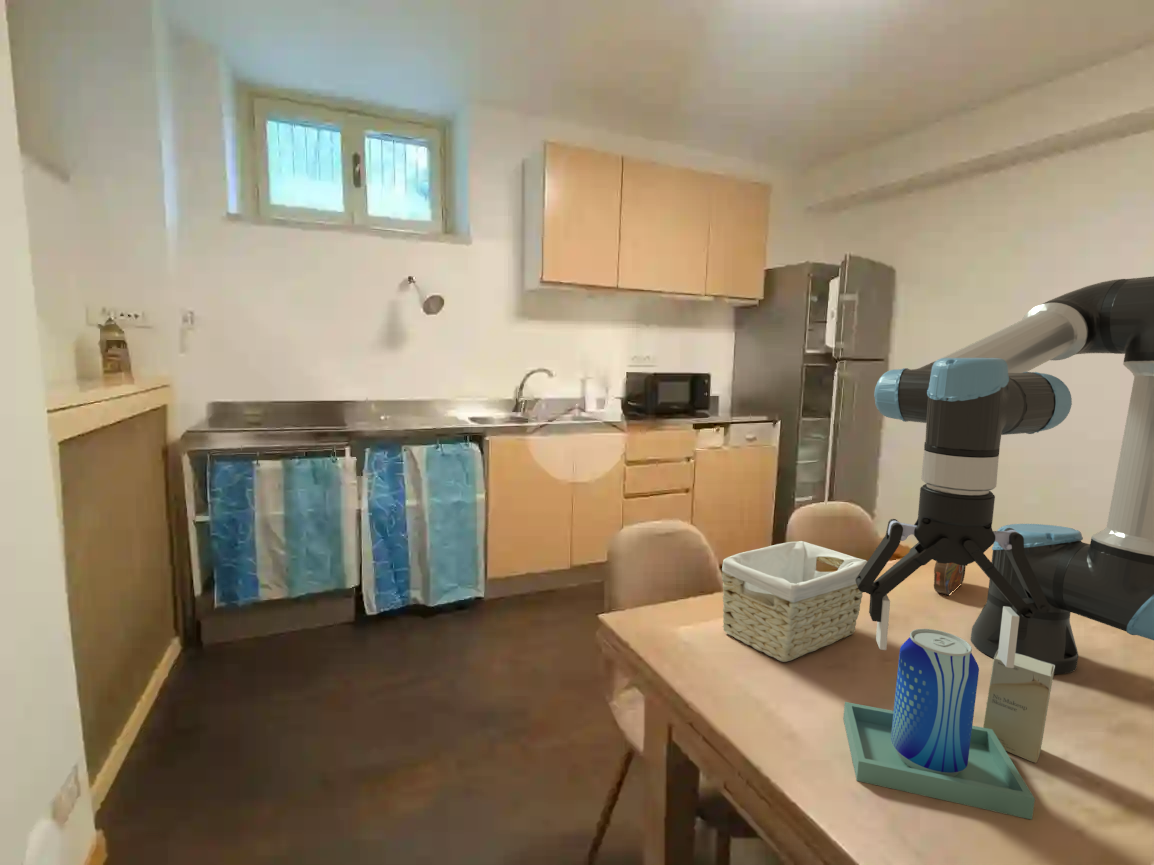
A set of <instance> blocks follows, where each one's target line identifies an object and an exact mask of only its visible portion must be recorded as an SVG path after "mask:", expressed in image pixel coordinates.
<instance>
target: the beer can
mask: <svg viewBox="0 0 1154 865" xmlns="http://www.w3.org/2000/svg"><path fill="white" fill-rule="evenodd" d="M972 652H973V648H972V645H971V644H970V642H967V640H965V639H963V638H961V637H959V636H957V635H955V634H953V633H950V632H946V631H943V630H939V629H932V628H931V629H930V628H917V629H913V630H912V631H910V633H909V637H908V638H906V641H904V643H902V644H901V646H900V647H899V653H898V654H899V655H898V665H897V666H898V667H897V676H896V682H895V683H896V684H895V694H894V704H893V711H894V712H893V721H892V731H891V743H892V745H893V747H894V748H895V750H896V751H897V754H898V756H899V757H900V759H901V760H902V761H903V762H904V763H905V764H907V765H908V766H909V767H911V768H913V769H917V770H922V771H927V772H932V773H936V774H941V775H946V776H950V777H954V776H956V775H957V774H958V773H959V772H961V771H963V770H964V769H965V768H966V767H967V765H968V757H969V749H970V740H971V732H972V726H973V724H974V723H973V722H974V715H975V708H976V707H975V705H976V697H977V690H978V681H979V674H980V667H979V664H978V662H977V660H976V658H975V657H974V654H973V653H972Z"/></svg>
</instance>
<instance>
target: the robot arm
mask: <svg viewBox="0 0 1154 865" xmlns="http://www.w3.org/2000/svg"><path fill="white" fill-rule="evenodd" d="M1082 354H1083V355H1085V354H1117V355H1118V354H1119V355H1120V354H1122V355H1124V357H1123V361H1122V362H1123V363H1122V365H1123V366H1124V367H1125V368H1126V369H1127V370H1128V371H1130V373H1132V375H1133V382H1132V387H1131V394H1130V398H1129V404H1128V407H1127V408H1128V409H1127V415H1126V421H1125V425H1124V431H1123V435H1122V436H1123V437H1122V442H1121V447H1120V452H1119V458H1118V462H1117V469H1116V475H1115V481H1114V483H1113V490H1112V491H1113V492H1112V496H1111V501H1110V506H1109V512H1108V517H1107V522H1106V527H1105V528H1104V529H1102V530H1101V531H1099V532H1096V533H1094V534H1092V535H1091V539H1090V543H1086V542H1082V541H1083V539H1084V537H1083V536H1082V533H1081V531H1079V530H1078V529H1074V528H1071V527H1068V526H1062V525H1054V524H1053V525H1052V524H1051V525H1050V524H1043V523H1042V524H1041V523H1040V524H1038V523H1011V524H1005V525H1003V526H1001V527H999V528H998V529H997V530H993V519H994V508H995V502H996V501H995V500H996V495H995V494H994V493H993V492H992V491H993V490H994V489H995V488H997V484H998V483H997V482H998V469H999V458H1000V447H1001V442H1002V441H1001V440H1002V436H1005V435H1018V434H1019V435H1020V434H1028V435H1032V434H1033V435H1034V434H1035V433H1036V434H1037V433H1039V432H1044V431H1048V430H1051V429H1053V428H1056V427H1057V426H1059V425H1060V424H1062V423H1063V422H1064V421H1065V420H1066V419H1067V417H1068V415H1069V414H1070V412H1071V408H1072V405H1073V401H1072V400H1073V399H1072V398H1073V397H1072V394H1071V392H1070V389H1069V388H1068V386H1067V385H1066V384H1065V382H1064V381H1062V380H1061V379H1060V378H1058V377H1057V376H1054V375H1052V374H1049V373H1042V372H1037V371H1035V372H1034V371H1033V372H1030V371H1032V370H1033V369H1035V368H1037V367H1039V366H1041V365H1043V364H1045V363H1047V362H1049V361H1062V360H1065V359H1069V358H1071V357H1073V356H1075V355H1082ZM873 395H874V401H875V402H874V403H875V408H876V409H877V410H878V412H879V413H880V414H881V415H882V416H884V417H886V418H890V419H894V420H895V419H896V420H900V421H903V422H906V423H907V422H913V423H920V424H925V427H926V428H925V441H924V444H923V445H924V446H923V447H924V449H923V459H922V465H921V466H922V469H921V476H920V477H921V480H922V482H923V483H925V484H923V485H922V486H920V488H919V498H918V499H919V500H918V512H917V520H916V521H915V523H914V524H911V523H905V522H900V521H899V520H898V519H896V518H891V519H889V521H888V522H887V528H886V532H885V536H883V538H882V540H881V541H880V543H879V544H878V545H877V547H876V549H875V550H874V551H873V553H872V554H871V556H870V557H869V559H868V560H867V563H866V564H865V566H864V567H863V569H862V570H861V572H860V573H859V575H858V576H857V578H856V580H855V581H856V584H857V587H858V589H859V591H861V592H863V593H865V594H868V595H869V608H868V614H869V616H870V618H871V621H872V622H876V631H875V632H876V634H875V641H876V643H877V645H878V649H879V650H882V651H887V646H888V633H889V623H890V622H889V620H890V608H891V600H890V598H889V596H888V594H889V593H890V592H891V591H893V590H894V589H895V588H897V587H898V586H899V585H900V584H901V583H903V582H904V581H905V580H906V579H907V578H908V577H910V576H911V575H912V574H914V572H916V571H917V570H918V569H919V568H920V567H922V566H926V565H927V564H928V563H929V562H930V561H932V560H933V561H935V562H936V561H937V562H938V563H944V564H946V563H955V564H958V565H965V566H966V567H967V566H969V565H970V564H973V563H974V562H975V564H976V565H977V566H978V567H979V568H980V569H981V571H982V572H983V573H984V574H985V575H986V577H988V579H989V581H988V591H987V598H986V603H985V604H984V606H983V607H982V610H981V611H980V613H978V616H977V618H976V619H975V622H974V623H973V625H972V627H971V633H970V642H971V643H972V645H973V646H974V647H975V648H976V649H977V650H978V651H980V652H981V653H983V654H984V655H986V656H988V657H991V658H992V659H994V657H995V654H996V652H997V650H998V657H999V658H1000V660H1001V661H1002V662H1003V664H1004V665H1005V666H1006V667H1008V668H1014V660H1015V653H1018V654H1021V655H1025V656H1028V657H1031V658H1034V659H1037V660H1040V661H1043V662H1047V663H1050V664H1053V665H1055V669H1054V674H1053V675H1063V674H1069V673H1072V672H1074V671H1076V670H1077V668H1078V662H1079V661H1078V660H1079V651H1078V648H1077V647H1078V646H1077V645H1076V644H1077V643H1076V640H1075V637H1074V633H1073V629H1072V625H1071V621H1070V620H1071V613H1073V614H1075V615H1078V616H1081V617H1083V618H1087V619H1089V620H1092V621H1095V622H1098V623H1101V624H1103V625H1107V626H1109V627H1112V628H1115V629H1117V630H1120V631H1123V632H1126V633H1127V634H1129V635H1131V636H1138V637H1142V638H1145V639H1148V640H1151V641H1154V276H1144V277H1143V276H1142V277H1135V278H1134V277H1133V278H1119V279H1118V278H1117V279H1111V280H1107V281H1106V280H1105V281H1101V282H1097V283H1093V284H1090V285H1085V286H1083V287H1081V288H1078V289H1076V290H1073V291H1070V292H1067V293H1064V294H1062V295H1060V296H1057V297H1055V298H1054V297H1053V298H1052V299H1049V300H1047V301H1045V302H1043V303H1041V304H1039V305H1036V306H1034V307H1032V308H1031V309H1030V310H1029V311H1027V312H1026V313H1025V315H1024V316H1023V317H1022V319H1021V320H1020V321H1018V322H1014V323H1013V324H1010V325H1009V326H1007V327H1004V328H1002V329H1000V330H998V331H996V332H994V333H992V334H990V335H987V336H985V337H984V338H982V339H979V340H977V341H975V342H973V343H970V344H969V345H966V346H965V347H964V346H963V347H962V348H960V349H958V350H956V351H953V352H952V353H950V354H947V355H945V356H943V357H940V358H939V359H937V360H934V361H932V362H931V363H928V364H926V365H923V366H921V367H919V368H915V369H910V368H901V369H899V368H898V369H897V368H896V369H890V370H888V371H885V372H884V373H883V374H882V375H881V376H880V377H879V379H878V380H877V382H876V385H875V388H874V393H873ZM991 490H992V491H991ZM909 536H914V538H915V539H916V540H917V543H915V544H914V545H913V547H910V549H909V551H908V553H906V554H905V555H904V556H903V557H901V558H900V559H899V560H898V561H897V562H896V563H895V564H893V565H892V566H890V568H888V570H886V571H885V572H883V573H882V575H880V574H881V572H882V571H883V569H884V568H885V567H886V565H887V563H888V562H889V561H890V559H891V558H892V557H893V556H894V554H895V552H896V551H897V550H898V548H899V546H900V543H901V542H903V541H905V540H907V538H908V537H909ZM992 545H993V546H992ZM990 548H991V551H992V554H991V560H990V559H989V558H988V557H987V556H986V554H985V552H986V551H987V550H988V549H990ZM879 575H880V576H879Z"/></svg>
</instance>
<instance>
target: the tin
mask: <svg viewBox="0 0 1154 865" xmlns="http://www.w3.org/2000/svg"><path fill="white" fill-rule="evenodd" d="M966 568H967V566H965V565H958V564H955V563H946V564H944V563H938V562H937V561H935V565H934V568H933V574H934V577H933V578H934V579H933V581H934V582H933V588H934V591H935V592H936V593H938V594H943V595H947V596H948V595H949V594H950V593H951V592H952V591H954V590H955V589H956V588H957V587H958V586H959V585H960V584H962V585H963V583H964V580H965V575H966Z"/></svg>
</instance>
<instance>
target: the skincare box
mask: <svg viewBox="0 0 1154 865" xmlns="http://www.w3.org/2000/svg"><path fill="white" fill-rule="evenodd" d="M1054 669H1055V665H1053V664H1050V663H1047V662H1043V661H1040V660H1037V659H1034V658H1031V657H1028V656H1025V655H1021V654H1018V653H1015V660H1014V668H1008V667H1006V666H1005V665H1004V664H1003V662H1002V661H1001V660H1000V658H999V657H998V650H997V652H996V654H995V657H994V658H993V662H992V669H991V674H990V675H991V676H990V681H989V685H988V686H989V687H988V694H987V695H988V696H987V700H986V707H985V714H984V720H983V726H982V727H983V728H988V729H992V730H993V731H994V733H995V735H996V736H997V738H998V740H999V741H1000V743H1001V744H1002V746H1003V748H1004V749H1005V751H1006V753H1010V754H1013V755H1015V756H1016V757H1020V758H1023V759H1024V760H1027V761H1029V762H1032V763H1035V764H1037V763H1038V760H1039V757H1040V754H1041V749H1042V744H1043V738H1044V732H1045V727H1046V726H1045V725H1046V720H1047V716H1048V710H1049V703H1050V698H1051V691H1052V685H1053V680H1054V675H1055V674H1054Z"/></svg>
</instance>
